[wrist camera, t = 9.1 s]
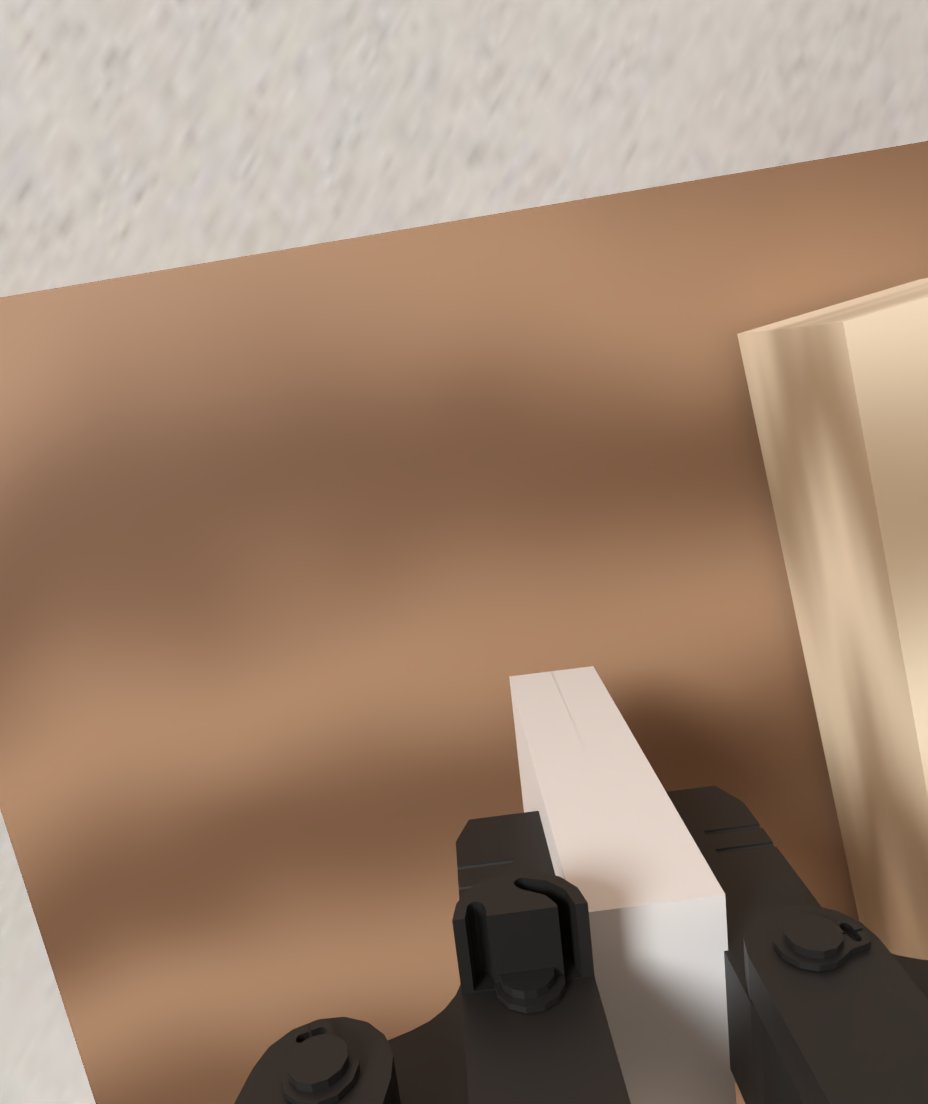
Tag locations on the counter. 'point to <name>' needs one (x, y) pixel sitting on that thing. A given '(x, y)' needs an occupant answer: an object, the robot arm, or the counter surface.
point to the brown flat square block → (391, 584)
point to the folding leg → (859, 571)
